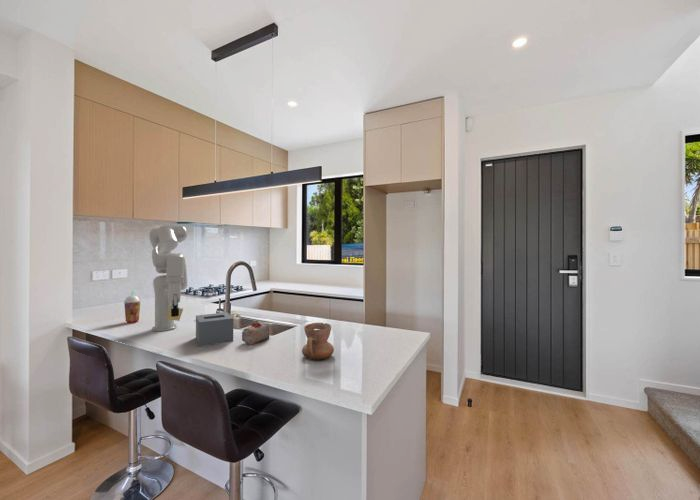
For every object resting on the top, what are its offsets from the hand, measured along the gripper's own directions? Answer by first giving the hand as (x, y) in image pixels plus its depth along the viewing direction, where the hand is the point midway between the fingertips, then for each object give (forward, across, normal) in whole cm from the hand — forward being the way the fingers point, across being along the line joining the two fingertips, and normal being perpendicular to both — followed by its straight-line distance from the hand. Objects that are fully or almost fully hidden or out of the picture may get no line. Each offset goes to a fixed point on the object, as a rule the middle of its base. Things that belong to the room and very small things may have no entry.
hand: (174, 315), depth 150 cm
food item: (+14, +16, +36) cm, 42 cm away
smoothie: (+16, -60, -21) cm, 66 cm away
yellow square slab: (+2, 0, -1) cm, 2 cm away
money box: (+14, +2, +18) cm, 23 cm away
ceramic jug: (+13, +52, +54) cm, 76 cm away
